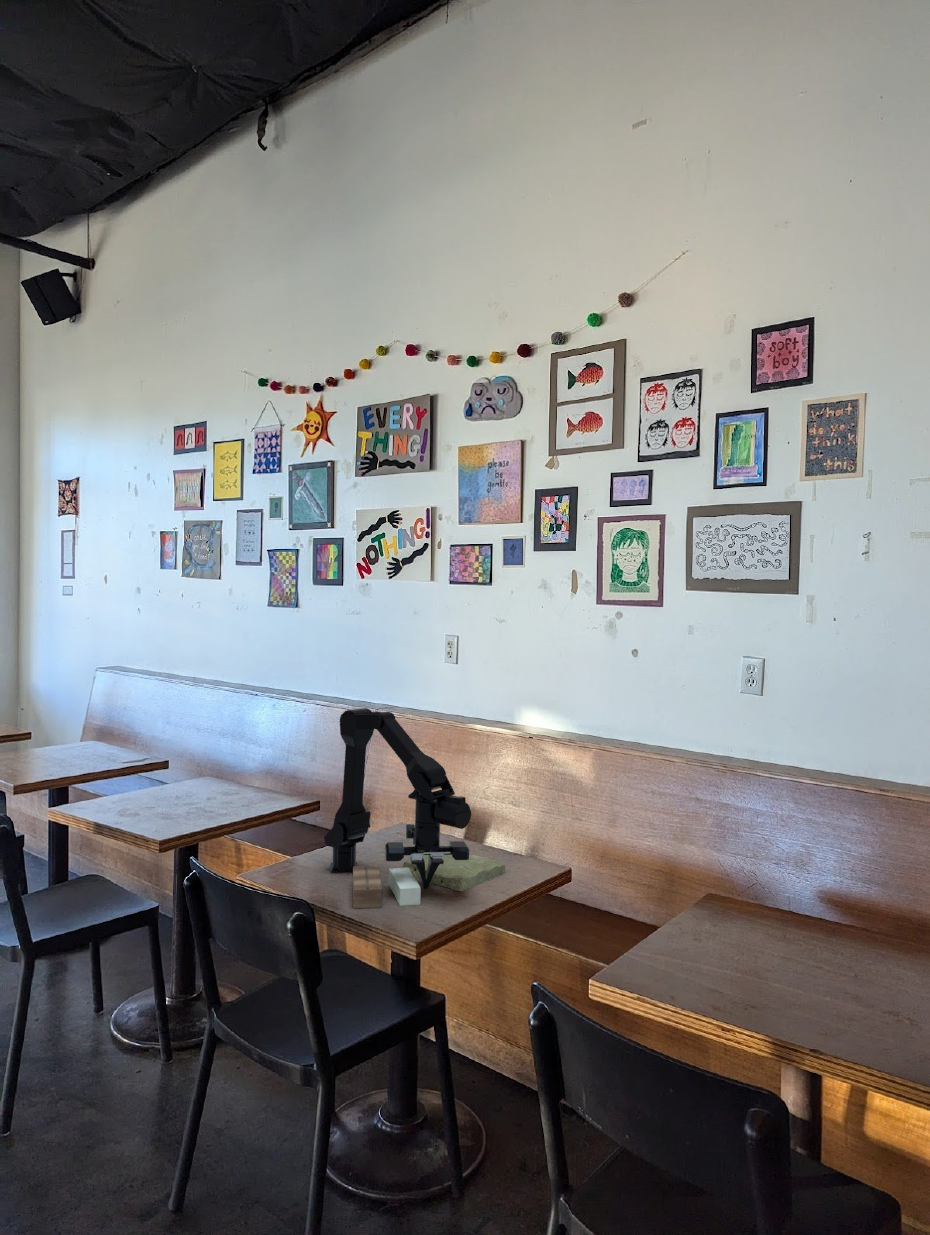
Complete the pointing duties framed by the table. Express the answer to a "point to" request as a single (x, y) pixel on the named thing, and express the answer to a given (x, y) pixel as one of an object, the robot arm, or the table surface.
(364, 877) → the walnut plank
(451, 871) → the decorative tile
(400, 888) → the sage plank
